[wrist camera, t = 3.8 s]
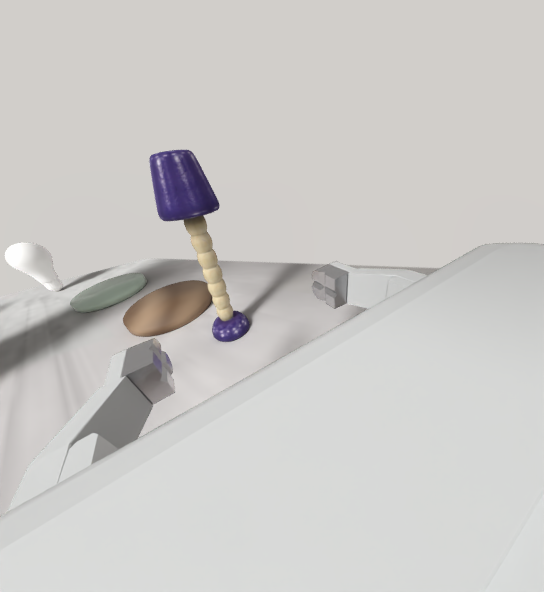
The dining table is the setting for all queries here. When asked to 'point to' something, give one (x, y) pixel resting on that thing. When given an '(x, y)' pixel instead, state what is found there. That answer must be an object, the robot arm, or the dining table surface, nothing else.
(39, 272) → the lightbulb
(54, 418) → the dining table surface
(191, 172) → the toy lamp
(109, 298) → the sage coaster
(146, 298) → the walnut coaster
